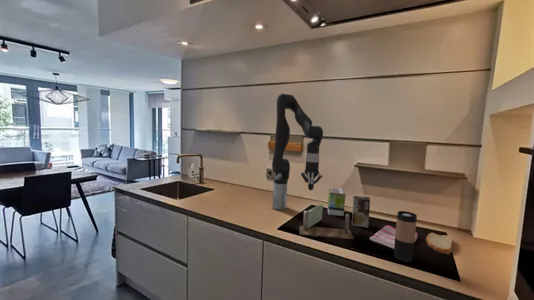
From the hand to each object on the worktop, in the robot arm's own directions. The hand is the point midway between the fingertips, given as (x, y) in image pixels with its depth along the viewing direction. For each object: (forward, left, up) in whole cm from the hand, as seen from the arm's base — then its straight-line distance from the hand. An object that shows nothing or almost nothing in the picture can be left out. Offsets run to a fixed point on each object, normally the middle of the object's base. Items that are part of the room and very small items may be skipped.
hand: (310, 189), depth 153 cm
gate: (+2, -7, -18) cm, 19 cm away
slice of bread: (+65, -18, -19) cm, 70 cm away
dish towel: (+42, -17, -19) cm, 49 cm away
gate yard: (+8, -16, -19) cm, 26 cm away
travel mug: (+39, -36, -19) cm, 56 cm away
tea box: (+18, +20, -19) cm, 33 cm away
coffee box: (+29, 0, -19) cm, 35 cm away
